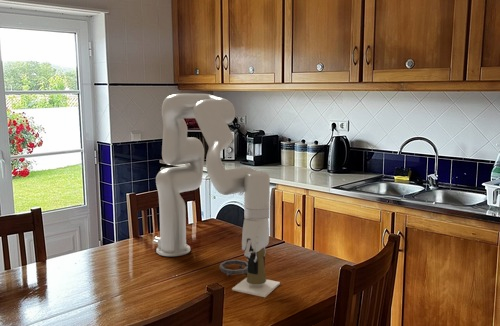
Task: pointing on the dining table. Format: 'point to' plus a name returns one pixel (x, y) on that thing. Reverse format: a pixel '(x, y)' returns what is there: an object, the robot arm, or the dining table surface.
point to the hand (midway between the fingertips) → (256, 270)
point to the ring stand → (229, 271)
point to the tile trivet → (256, 287)
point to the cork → (261, 276)
